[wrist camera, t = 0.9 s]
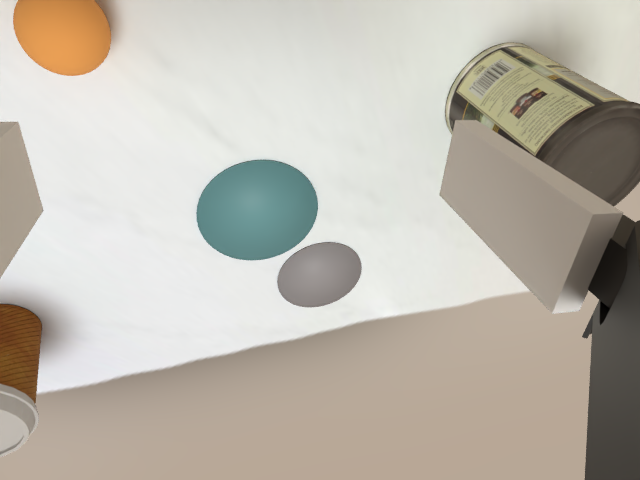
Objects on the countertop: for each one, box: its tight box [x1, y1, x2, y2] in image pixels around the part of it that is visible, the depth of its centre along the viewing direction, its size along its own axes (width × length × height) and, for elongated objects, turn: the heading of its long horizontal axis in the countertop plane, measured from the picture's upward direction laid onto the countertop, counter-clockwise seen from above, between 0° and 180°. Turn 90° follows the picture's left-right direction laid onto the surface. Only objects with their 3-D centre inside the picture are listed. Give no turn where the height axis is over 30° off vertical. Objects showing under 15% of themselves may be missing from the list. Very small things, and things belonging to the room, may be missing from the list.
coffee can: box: [446, 43, 640, 206], centre depth 39 cm, size 10×10×14 cm
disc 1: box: [197, 160, 318, 260], centre depth 46 cm, size 12×12×1 cm
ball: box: [13, 0, 111, 76], centre depth 30 cm, size 6×6×6 cm
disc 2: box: [277, 242, 361, 307], centre depth 54 cm, size 10×10×1 cm
